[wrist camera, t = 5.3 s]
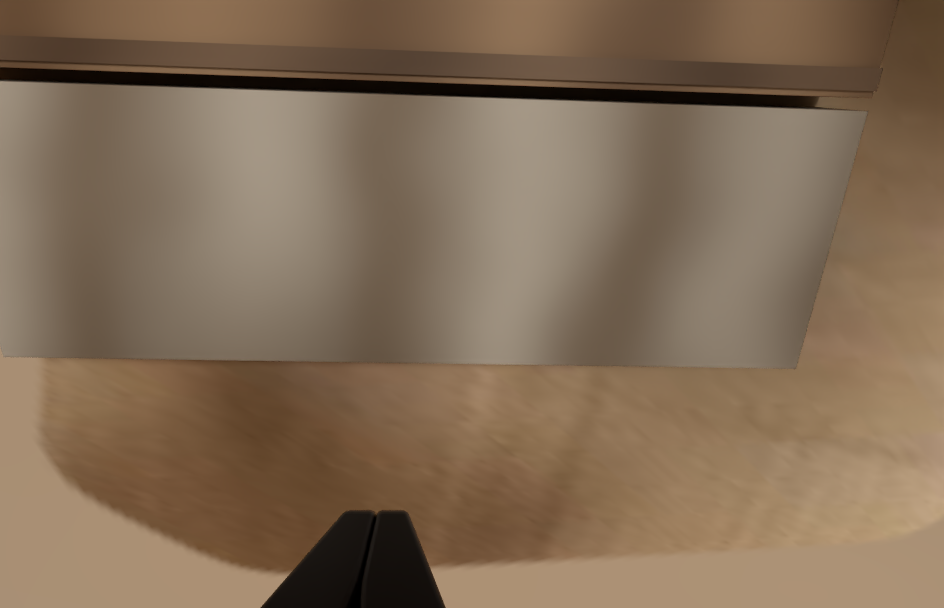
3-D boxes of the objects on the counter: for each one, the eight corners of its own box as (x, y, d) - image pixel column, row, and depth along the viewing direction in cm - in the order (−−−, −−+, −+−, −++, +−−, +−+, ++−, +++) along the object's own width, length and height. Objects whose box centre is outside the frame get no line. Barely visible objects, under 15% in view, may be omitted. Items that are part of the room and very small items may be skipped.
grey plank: (817, 107, 15) (868, 111, 13) (760, 338, 18) (795, 368, 16) (-15, 78, 14) (-84, 78, 13) (52, 326, 17) (3, 357, 15)
